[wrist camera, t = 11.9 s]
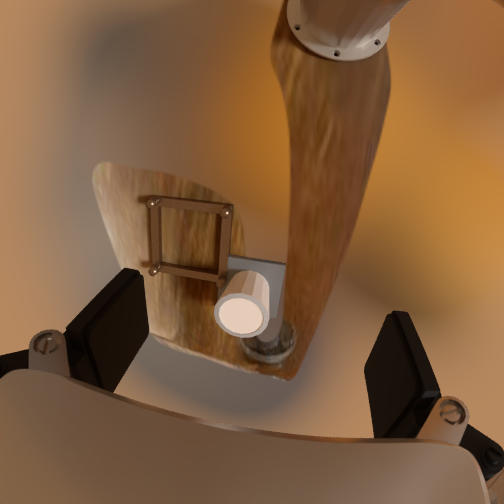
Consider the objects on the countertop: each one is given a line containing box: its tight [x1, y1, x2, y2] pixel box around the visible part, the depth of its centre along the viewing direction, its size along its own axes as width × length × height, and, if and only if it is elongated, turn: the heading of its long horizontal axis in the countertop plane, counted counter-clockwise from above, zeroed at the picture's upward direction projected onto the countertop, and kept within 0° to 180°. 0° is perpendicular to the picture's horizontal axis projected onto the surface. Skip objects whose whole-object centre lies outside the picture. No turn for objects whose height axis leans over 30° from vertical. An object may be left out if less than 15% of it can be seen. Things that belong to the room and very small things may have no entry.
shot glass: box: [214, 270, 269, 338], centre depth 39 cm, size 7×7×7 cm
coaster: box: [217, 255, 286, 319], centre depth 43 cm, size 9×9×1 cm
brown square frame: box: [145, 195, 234, 289], centre depth 40 cm, size 11×11×2 cm
